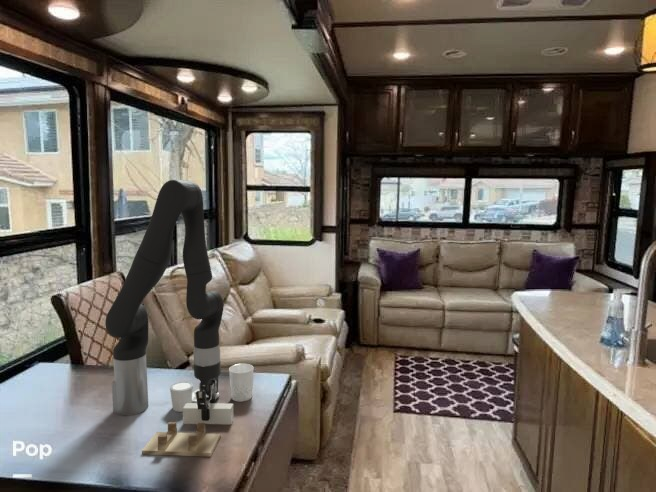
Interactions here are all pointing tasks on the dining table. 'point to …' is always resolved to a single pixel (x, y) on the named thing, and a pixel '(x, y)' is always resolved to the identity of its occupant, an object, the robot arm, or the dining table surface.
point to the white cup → (241, 382)
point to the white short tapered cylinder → (181, 395)
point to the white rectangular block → (217, 414)
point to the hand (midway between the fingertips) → (208, 414)
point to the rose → (196, 398)
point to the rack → (182, 442)
